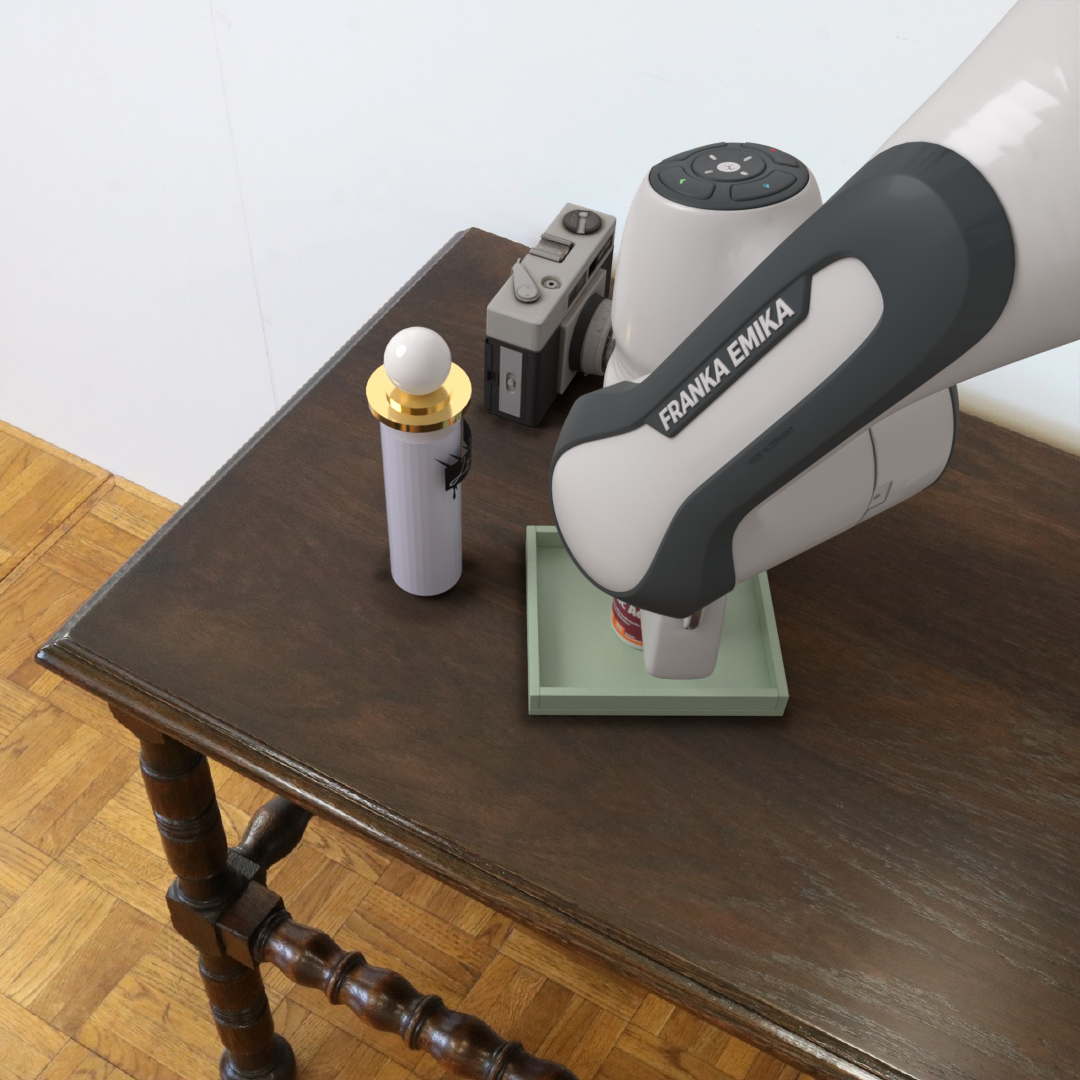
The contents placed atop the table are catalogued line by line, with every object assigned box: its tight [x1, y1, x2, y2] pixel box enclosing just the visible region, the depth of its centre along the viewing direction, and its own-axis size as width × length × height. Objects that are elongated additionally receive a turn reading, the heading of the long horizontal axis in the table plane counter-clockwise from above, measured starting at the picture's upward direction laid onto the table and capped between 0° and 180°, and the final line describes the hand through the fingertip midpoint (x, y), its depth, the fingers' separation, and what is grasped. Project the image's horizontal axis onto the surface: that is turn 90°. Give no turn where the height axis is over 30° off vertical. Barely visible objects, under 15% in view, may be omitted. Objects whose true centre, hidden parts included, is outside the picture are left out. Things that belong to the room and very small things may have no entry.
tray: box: [525, 525, 790, 717], centre depth 79 cm, size 15×13×2 cm
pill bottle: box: [611, 597, 643, 650], centre depth 76 cm, size 5×5×8 cm
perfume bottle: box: [365, 326, 473, 597], centre depth 74 cm, size 6×6×20 cm
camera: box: [483, 202, 617, 428], centre depth 91 cm, size 14×8×10 cm, turn 156°
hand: (653, 593), depth 77 cm, fingers open, 8 cm apart
